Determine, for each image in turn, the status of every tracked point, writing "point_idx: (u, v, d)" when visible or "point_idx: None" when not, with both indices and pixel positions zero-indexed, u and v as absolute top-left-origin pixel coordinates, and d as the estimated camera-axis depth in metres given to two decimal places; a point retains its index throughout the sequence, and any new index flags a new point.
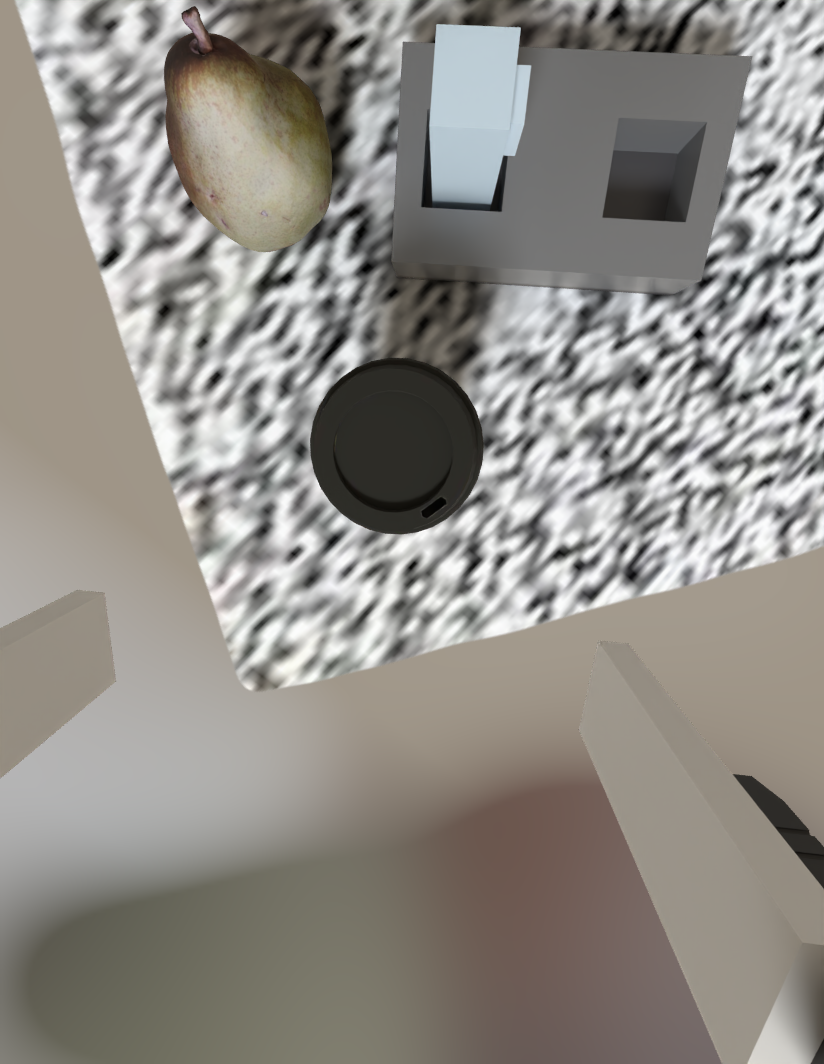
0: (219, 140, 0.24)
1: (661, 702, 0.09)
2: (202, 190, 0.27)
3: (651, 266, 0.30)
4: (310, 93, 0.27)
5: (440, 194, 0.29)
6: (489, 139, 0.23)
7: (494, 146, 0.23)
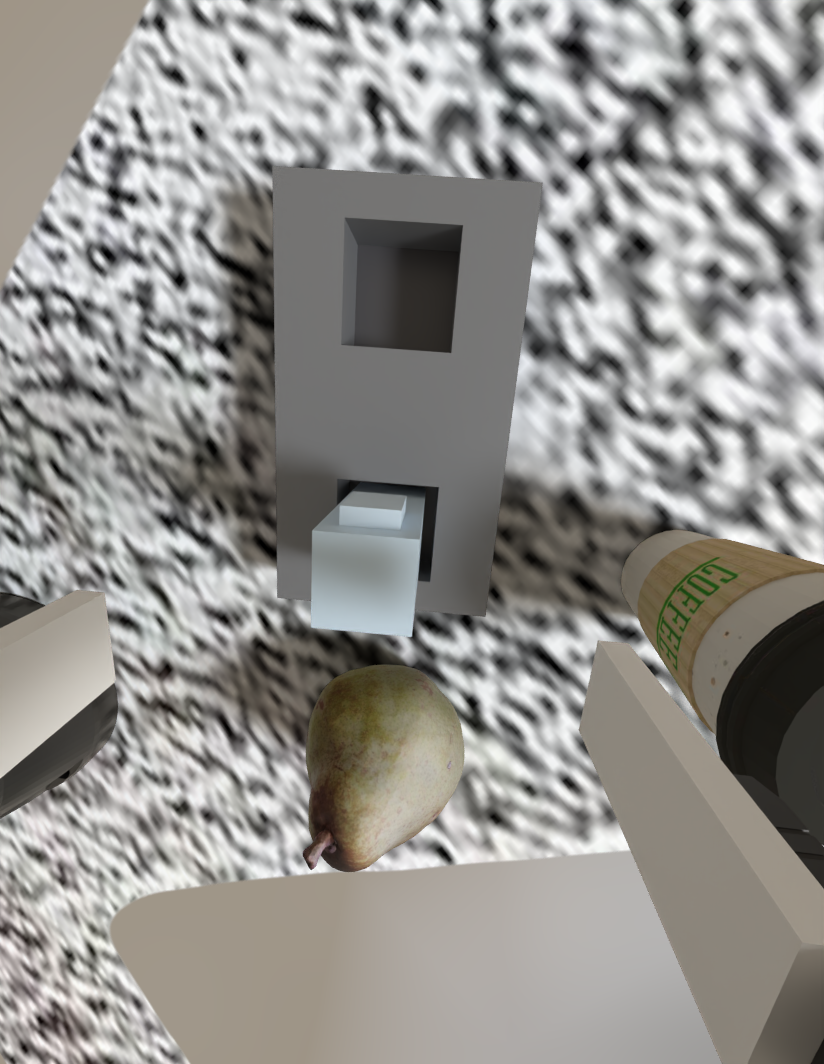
0: (400, 825, 0.22)
1: (661, 702, 0.09)
2: (428, 823, 0.25)
3: (516, 269, 0.20)
4: (332, 700, 0.25)
5: None
6: None
7: None
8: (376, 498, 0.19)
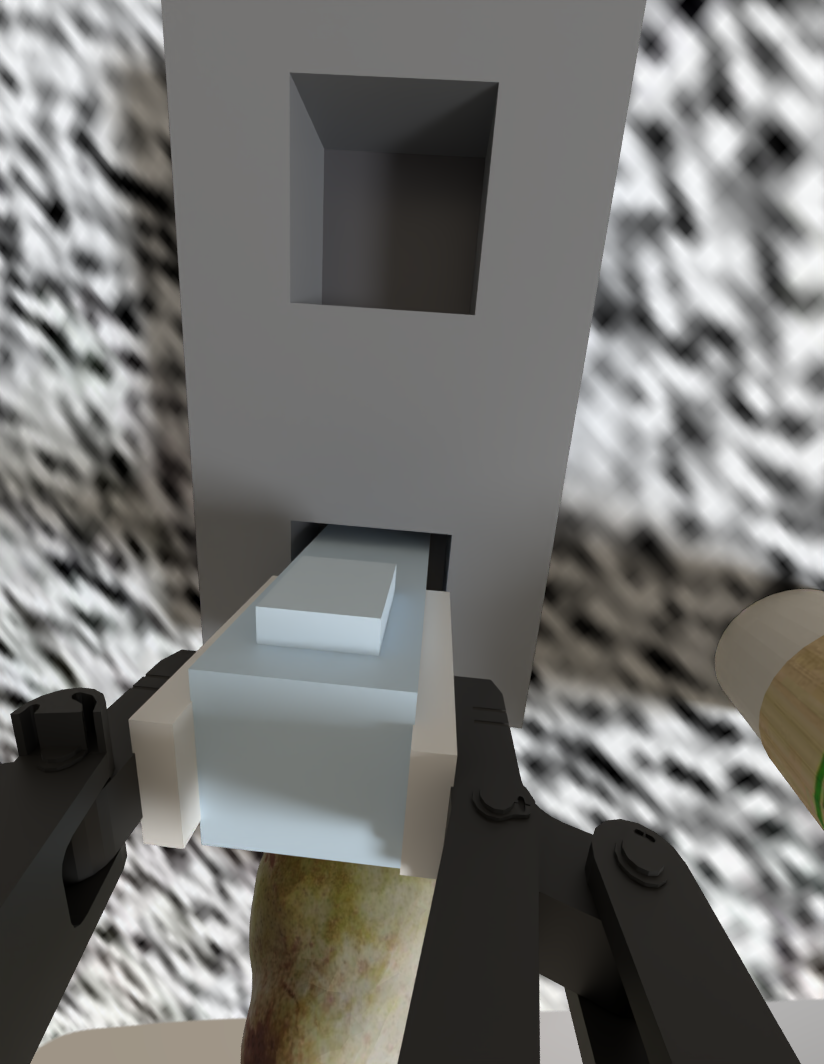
0: None
1: (439, 628, 0.11)
2: None
3: (592, 164, 0.11)
4: None
5: None
6: None
7: None
8: (339, 576, 0.10)
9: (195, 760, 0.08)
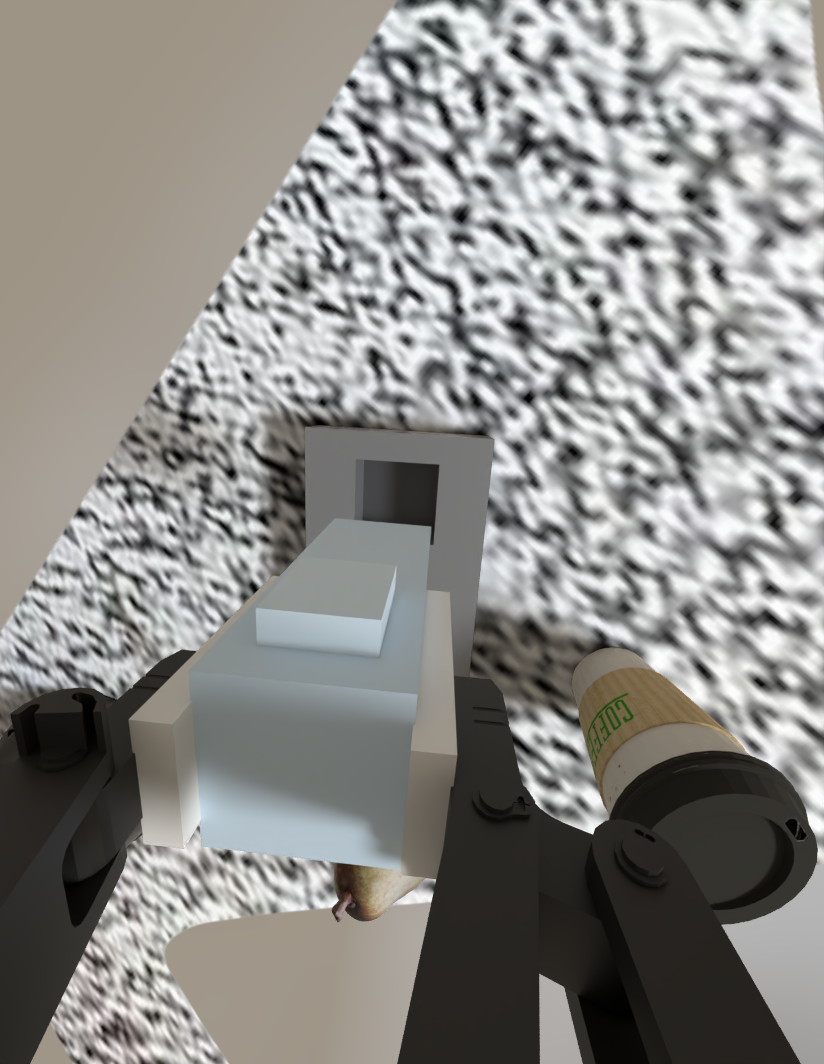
0: (401, 885, 0.30)
1: (439, 628, 0.11)
2: (423, 879, 0.33)
3: (478, 492, 0.28)
4: None
5: None
6: None
7: None
8: (339, 577, 0.10)
9: (195, 760, 0.08)
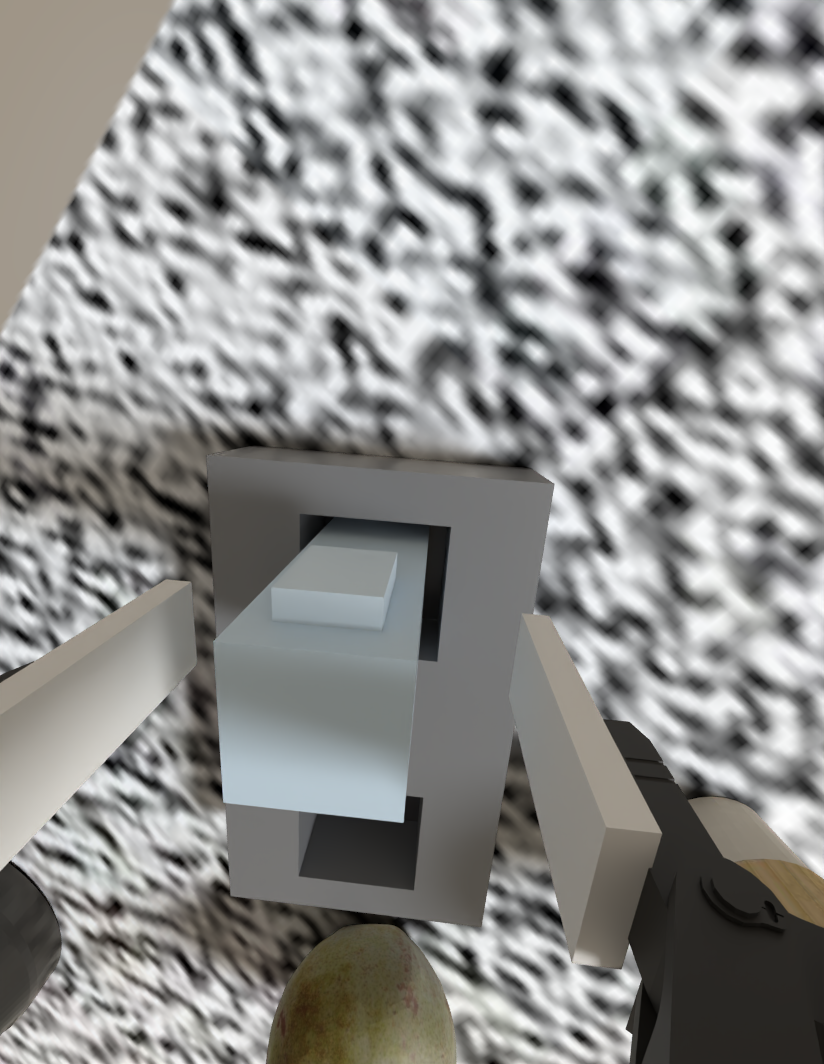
0: None
1: (560, 661, 0.10)
2: None
3: (520, 576, 0.16)
4: (295, 1026, 0.21)
5: None
6: None
7: None
8: (344, 562, 0.11)
9: (0, 789, 0.07)
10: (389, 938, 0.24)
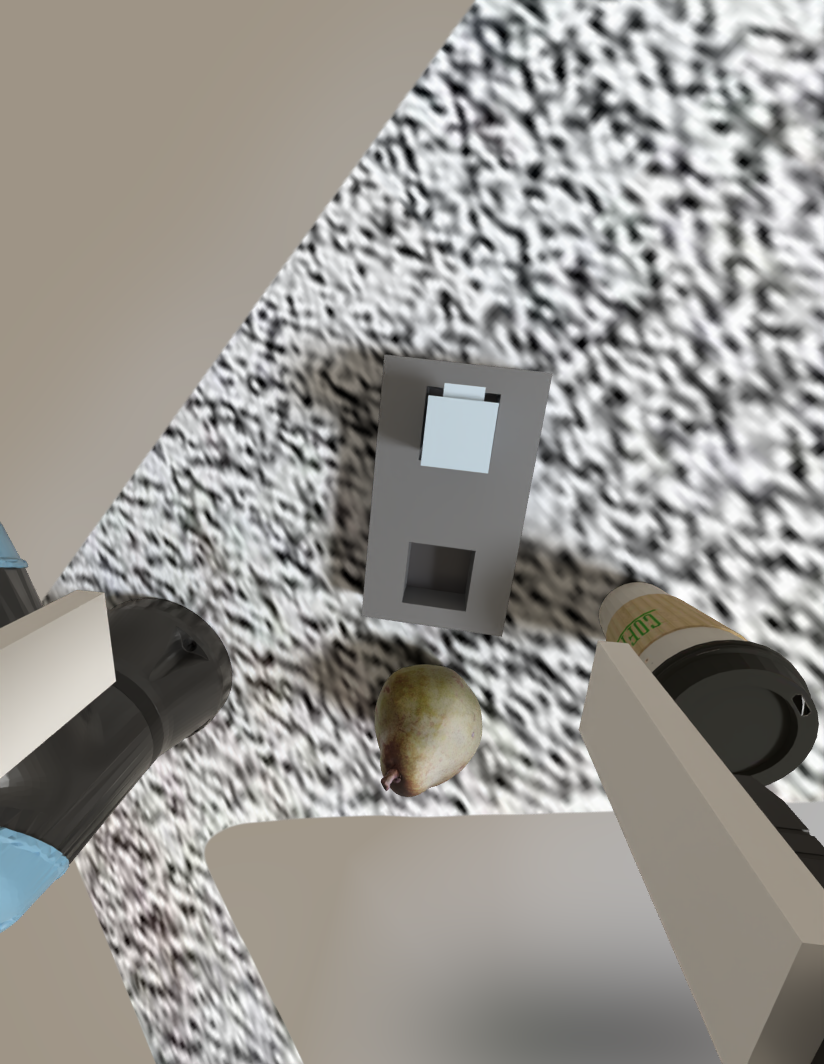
0: (440, 769, 0.34)
1: (661, 702, 0.09)
2: (456, 773, 0.37)
3: (533, 421, 0.32)
4: (396, 687, 0.37)
5: None
6: None
7: None
8: None
9: None
10: None
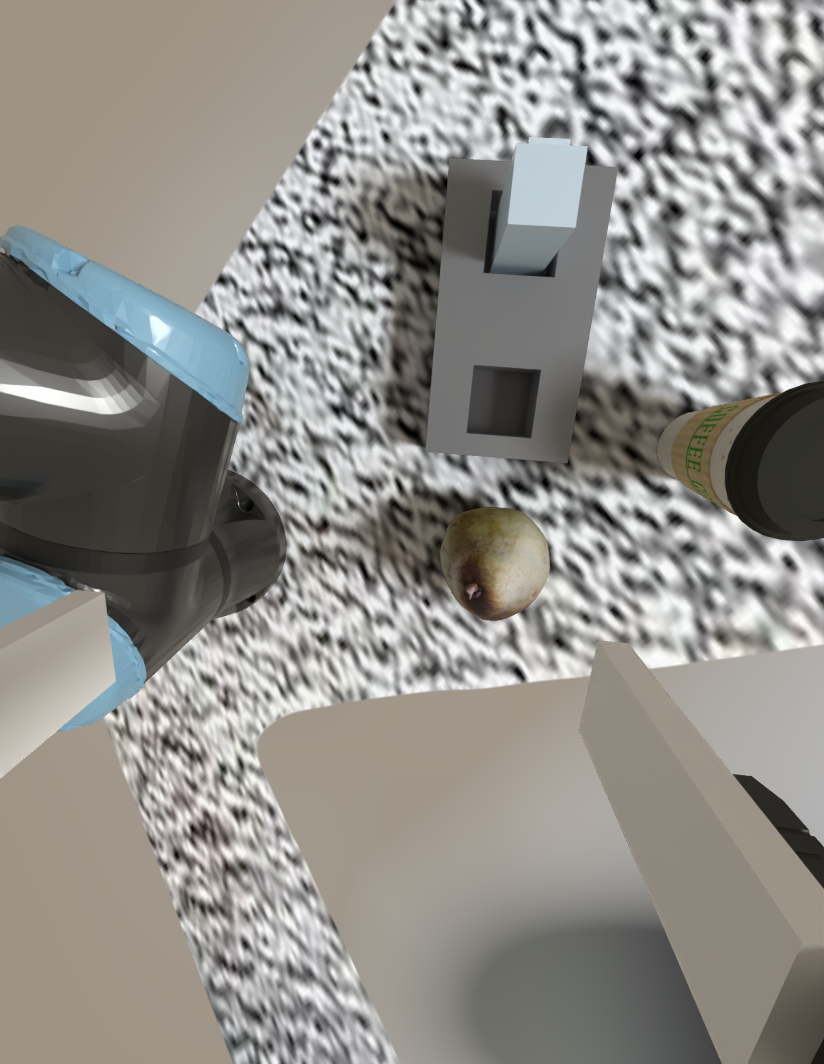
0: (518, 585, 0.34)
1: (661, 702, 0.09)
2: (528, 602, 0.37)
3: (599, 222, 0.32)
4: (463, 519, 0.37)
5: None
6: None
7: None
8: None
9: None
10: None
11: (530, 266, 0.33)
